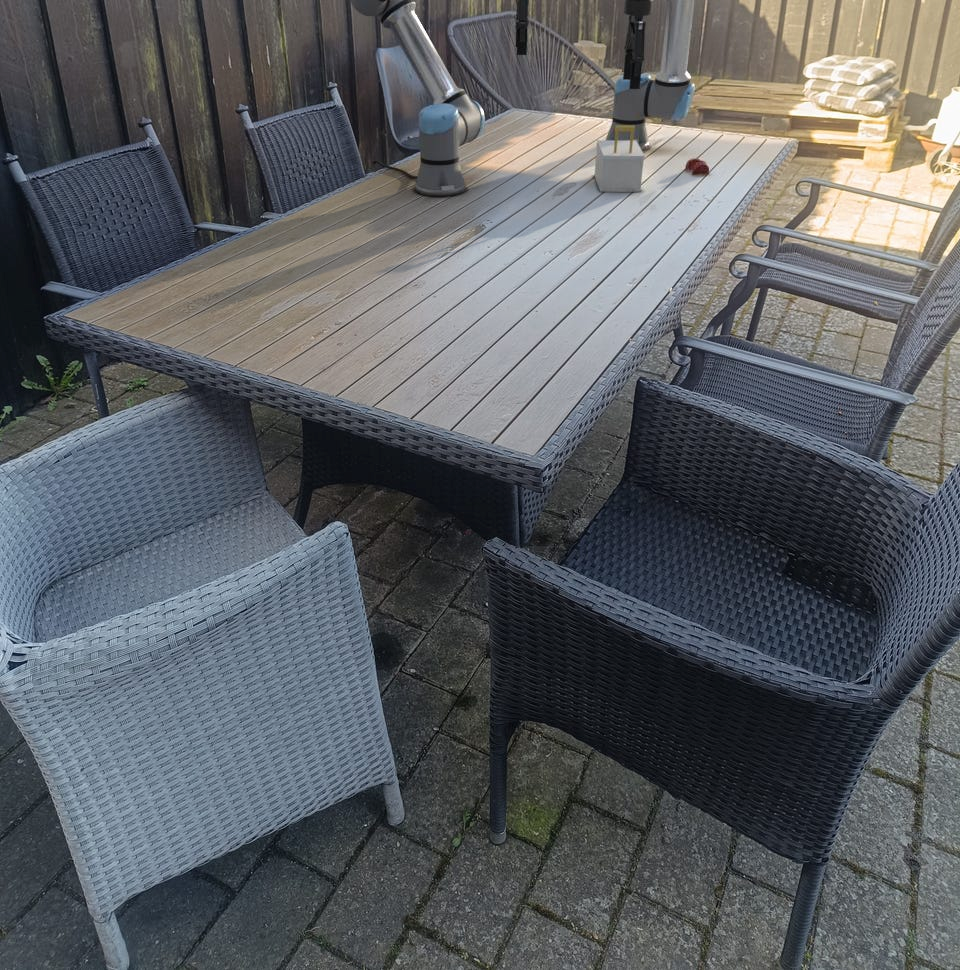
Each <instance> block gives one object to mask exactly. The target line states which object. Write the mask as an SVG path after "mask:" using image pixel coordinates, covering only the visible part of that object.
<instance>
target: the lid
mask: <svg viewBox="0 0 960 970" xmlns="http://www.w3.org/2000/svg"><path fill="white" fill-rule="evenodd" d="M634 130H635V126H615V131H616V133H615V140H606V139H604V140H602V139H601V140H600V139H599V140H596V146H597V145H598V147H599V150H600V152H601V154H602V157H603V159H644V160H645V158H646V156H645V153H644V151H643V150H641V148H640V147H639V145H638V143H637V141H636V140H633V134H634ZM618 131H631V138H630V140H617V139H618Z"/></svg>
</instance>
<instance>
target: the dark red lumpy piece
mask: <svg viewBox="0 0 960 970" xmlns="http://www.w3.org/2000/svg"><path fill="white" fill-rule="evenodd" d="M684 171H691V174H692V175H693V176H695V175H696V176H699V175H708V174H709V173H710V167H709V165H708V163H707V162H706V161H705V160H701V159H700V158H697V157H695V158H690V159H689V160H688V161H687V162H686V164H685V169H684Z"/></svg>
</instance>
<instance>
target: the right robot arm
mask: <svg viewBox="0 0 960 970" xmlns="http://www.w3.org/2000/svg"><path fill="white" fill-rule="evenodd" d="M665 5H666V6H665V18H664V29H663V39H662V52H661V62H660V70H659V72H657V74H656V75H655V76H654V77H655V78H654V79H652V77H651V75H650V74H647V73H642V66H643V62H644V61H645V35H646V23H647V22H646V21H645V20H644V17H645V16H646V17H647V16H651V15H652V13H653V7H654V0H624V6H623V7H624V8H623V13H624V15H626V16H628V25H627V30H626V37H625V43H624V53H625V55H624V62H623V63H624V64H623V75H622V76H621V77H619V78H618V79H617V80H616V82H615V87H614V88H615V89H614V91H613V94H614V95H613V107H612V118H611V124H610V127H609V130H608V132H607V135H606V138H605V140H615V133H616V131H615V126H635V130H634V134H633V140H636V141H637V143H638V145H639V147H640V148H641V150H642V151H645V150H647V149H648V148H649V143H650V141H649V136H648V131H647V125H646V121H647V118H652V119H663V120H664V119H665V120H670V121H675V120H677V121H681V120H684V119H685V118H686V117H687V115H688V114H689V111H690V108H691V105H692V104H693V103H692V102H693V98H694V94H695V90H696V88H695V86H696V84H695V83H694V82H691V79H692V77H691V75H690V73H689V72H688V63H689V53H690V44H691V35H692V26H693V19H694V18H693V17H694V10H695V9H694V6H695V0H666V4H665ZM630 138H631V131H618V139H617V140H630Z"/></svg>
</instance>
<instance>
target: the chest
mask: <svg viewBox="0 0 960 970" xmlns="http://www.w3.org/2000/svg"><path fill="white" fill-rule="evenodd" d="M644 161H645V158H644V159H603V157H602V154H601V152H600V150H599V147H598V145H597V144H596V151H595V164H594V178H595V181H596V183H597V186H598V190H599V192H600V193H603V192H604V193H610V192H611V193H612V192H613V193H618V192H619V193H640V192H641V187H642V180H643V179H642V177H643V170H644Z"/></svg>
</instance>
